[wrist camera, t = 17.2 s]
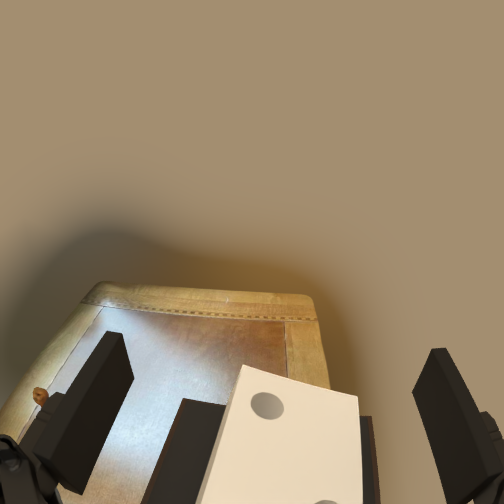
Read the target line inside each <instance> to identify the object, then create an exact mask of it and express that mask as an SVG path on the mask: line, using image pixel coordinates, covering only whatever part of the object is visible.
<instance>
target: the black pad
mask: <svg viewBox="0 0 504 504" xmlns="http://www.w3.org/2000/svg"><path fill="white" fill-rule="evenodd" d="M225 409H226V407H225V406H219V405H213V404H207V403H201V402H196V401H190V400H187V401H186V404H185V406H184V409H183V411H182V414H181V416H180V419H179V422H178V424H177V427H176V429H175V432H174V434H173V437H172V439H171V442H170V445H169V447H168V450H167V452H166V455H165V457H164V460H163V462H162V465H161V468H160V470H159V473H158V475H157V478H156V480H155V483H154V486H153V488H152V491H151V493H150V496H149V498H148V501H147V504H195V503H196V500H197V497H198V494H199V491H200V488H201V485H202V482H203V479H204V475H205V472H206V469H207V466H208V463H209V460H210V457H211V454H212V450H213V447H214V444H215V441H216V438H217V435H218V431H219V428H220V425H221V422H222V419H223V415H224V412H225ZM359 421H360V436H361V455H362V485H363V504H375V489H374V476H373V464H372V454H371V444H370V435H369V426H368V418H367V417H359Z"/></svg>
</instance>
